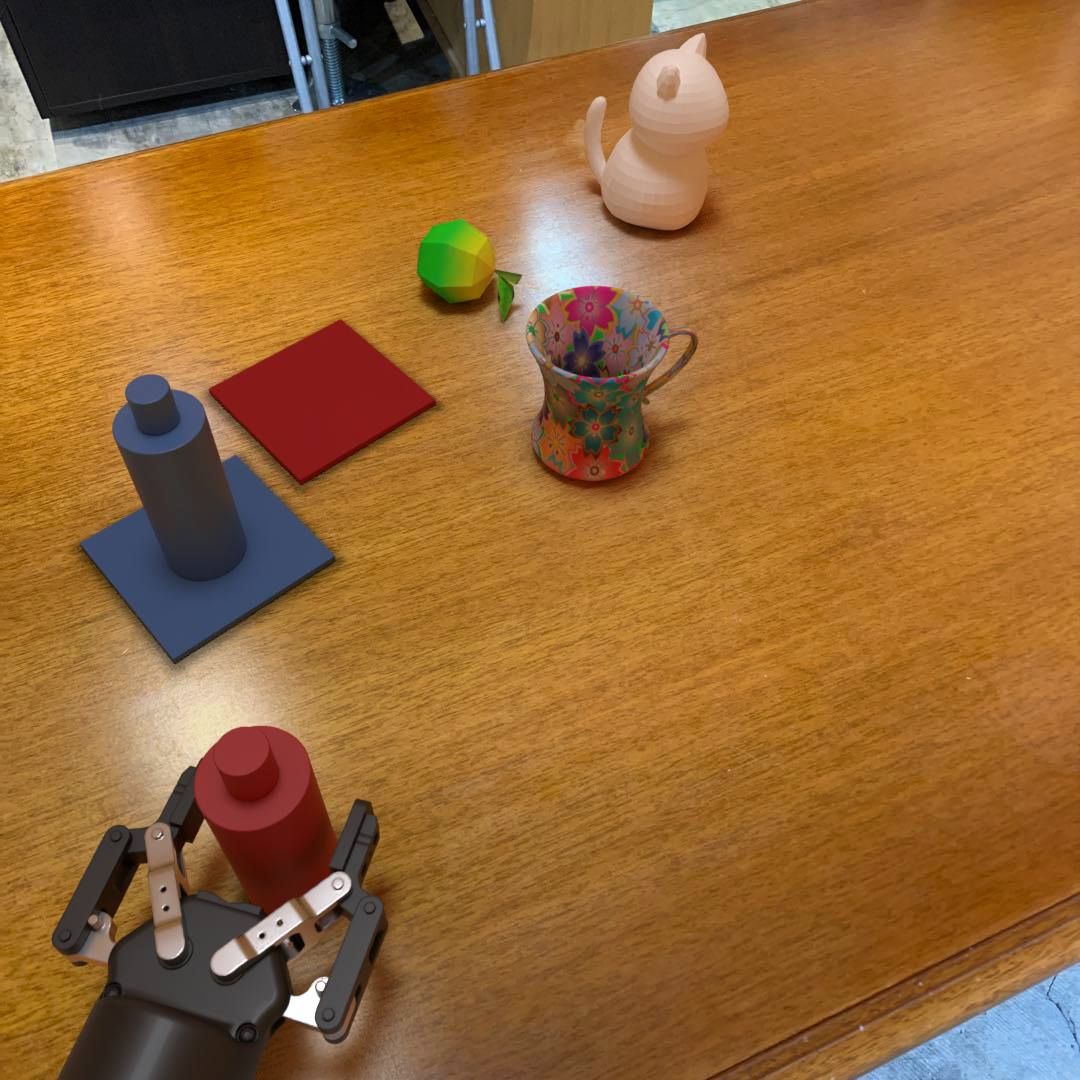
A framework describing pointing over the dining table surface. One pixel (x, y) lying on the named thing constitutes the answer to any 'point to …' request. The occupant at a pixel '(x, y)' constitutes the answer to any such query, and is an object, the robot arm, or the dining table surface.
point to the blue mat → (217, 604)
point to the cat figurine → (662, 140)
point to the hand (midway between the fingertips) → (288, 785)
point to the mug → (598, 378)
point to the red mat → (321, 399)
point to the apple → (462, 264)
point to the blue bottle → (179, 478)
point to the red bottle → (266, 813)
